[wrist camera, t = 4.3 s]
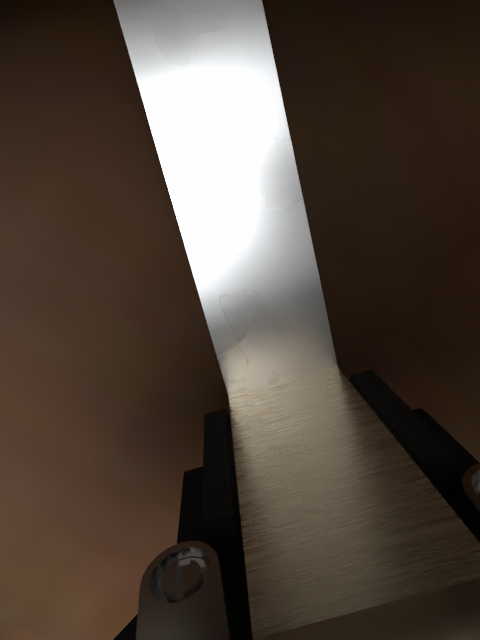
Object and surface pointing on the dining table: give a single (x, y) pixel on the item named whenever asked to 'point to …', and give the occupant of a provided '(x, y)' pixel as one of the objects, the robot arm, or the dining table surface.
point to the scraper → (289, 354)
